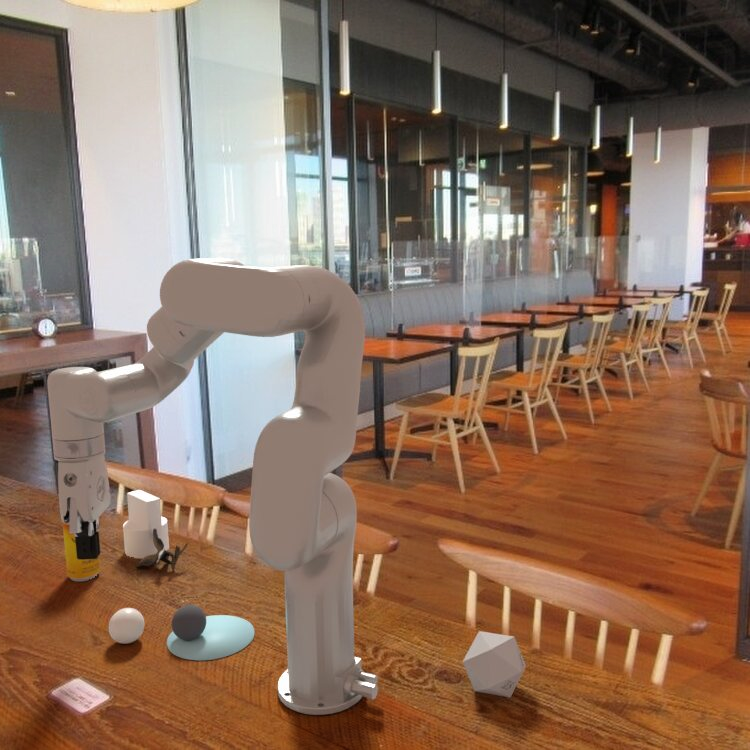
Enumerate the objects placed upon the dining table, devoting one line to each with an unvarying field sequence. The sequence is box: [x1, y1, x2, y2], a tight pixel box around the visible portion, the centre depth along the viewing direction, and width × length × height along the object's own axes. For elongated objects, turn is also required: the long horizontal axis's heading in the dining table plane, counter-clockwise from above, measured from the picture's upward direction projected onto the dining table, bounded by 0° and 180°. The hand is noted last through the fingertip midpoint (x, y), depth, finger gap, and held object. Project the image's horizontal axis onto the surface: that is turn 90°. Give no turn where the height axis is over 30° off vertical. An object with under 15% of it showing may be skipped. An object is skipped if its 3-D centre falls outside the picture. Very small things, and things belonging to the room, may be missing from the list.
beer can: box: [61, 520, 101, 582], centre depth 143 cm, size 6×6×15 cm
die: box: [462, 630, 527, 699], centre depth 104 cm, size 8×9×10 cm
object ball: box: [171, 604, 206, 640], centre depth 120 cm, size 6×6×6 cm
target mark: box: [166, 614, 256, 661], centre depth 120 cm, size 14×14×1 cm
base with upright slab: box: [122, 489, 170, 559], centre depth 156 cm, size 9×9×12 cm
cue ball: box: [108, 607, 145, 645], centre depth 119 cm, size 6×6×6 cm
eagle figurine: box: [135, 529, 189, 572], centre depth 148 cm, size 8×8×10 cm
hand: (88, 556), depth 118 cm, fingers closed
